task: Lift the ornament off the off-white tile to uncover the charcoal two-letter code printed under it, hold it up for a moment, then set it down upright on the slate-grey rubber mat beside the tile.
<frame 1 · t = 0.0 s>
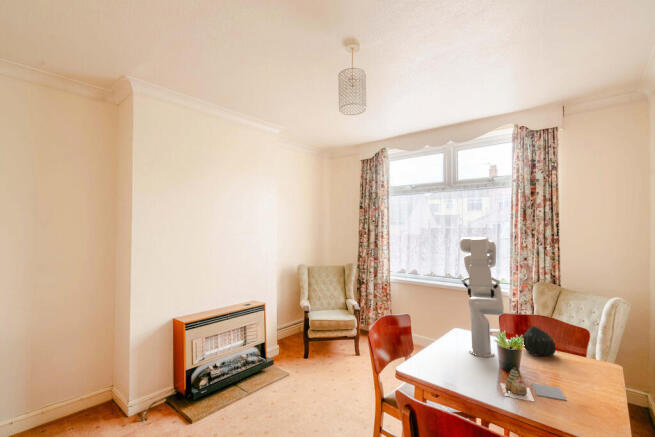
hand: (480, 297, 148), 37 cm above the table, tool pointing down, fingers open, 9 cm apart
ornament: (516, 392, 129), resting on code tile
squash: (538, 353, 166), on the table
grey mat: (548, 392, 128), on the table
code tile: (516, 392, 129), on the table
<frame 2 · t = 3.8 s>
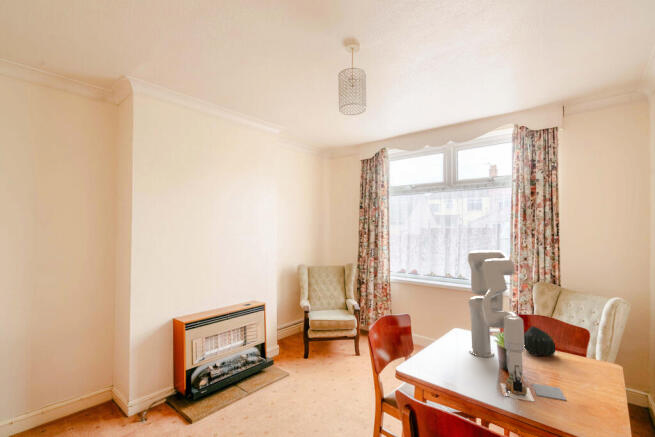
hand: (516, 385, 129), 3 cm above the table, tool pointing down, fingers closed on ornament, 8 cm apart
ornament: (516, 392, 129), resting on code tile, touching gripper
everything else where it was.
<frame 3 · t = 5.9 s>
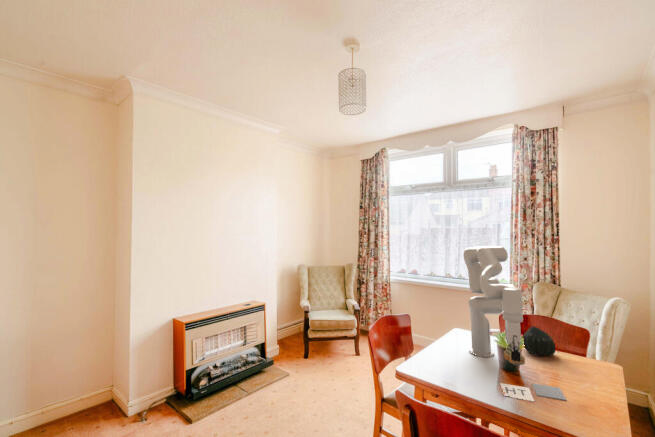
hand: (514, 356, 130), 15 cm above the table, tool pointing down, fingers closed on ornament, 8 cm apart
ornament: (514, 362, 129), point 13 cm above the table, touching gripper
everything else where it was.
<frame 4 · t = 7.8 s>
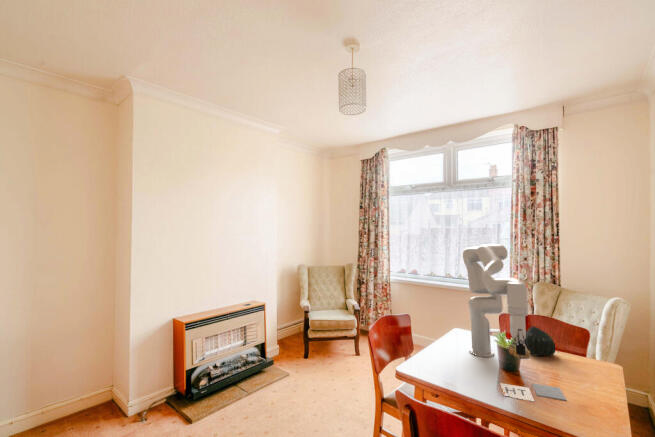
hand: (519, 350, 129), 18 cm above the table, tool pointing down, fingers closed on ornament, 8 cm apart
ornament: (519, 356, 129), point 15 cm above the table, touching gripper
everything else where it was.
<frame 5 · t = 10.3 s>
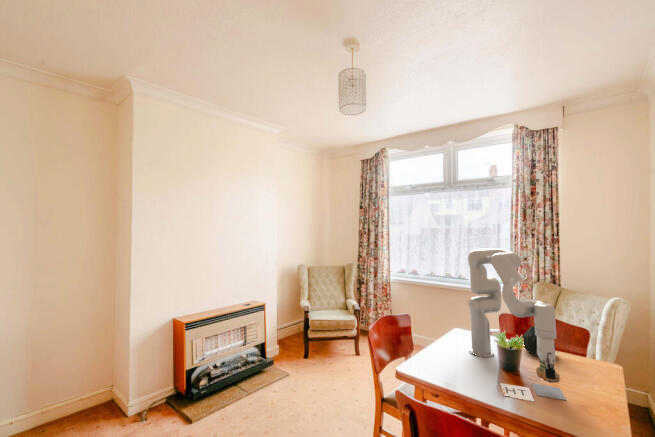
hand: (547, 373, 128), 8 cm above the table, tool pointing down, fingers closed on ornament, 8 cm apart
ornament: (548, 379, 128), point 5 cm above the table, touching gripper
everything else where it was.
when the fingers open (4 cm above the table, at t = 12.2 s): ornament drops 1 cm, resting on grey mat.
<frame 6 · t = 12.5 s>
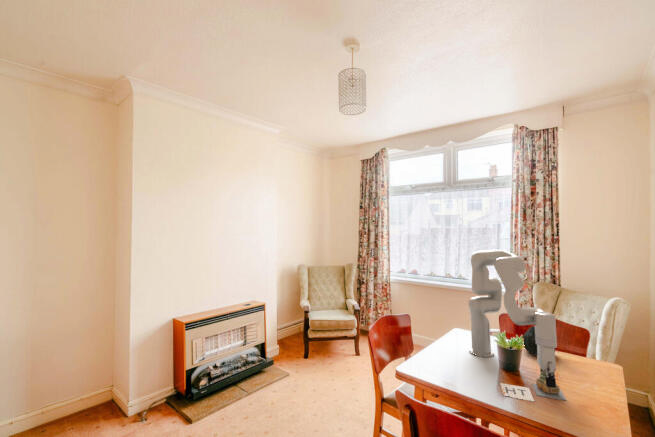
hand: (547, 381, 128), 5 cm above the table, tool pointing down, fingers open, 9 cm apart
ornament: (548, 391, 128), resting on grey mat
everything else where it was.
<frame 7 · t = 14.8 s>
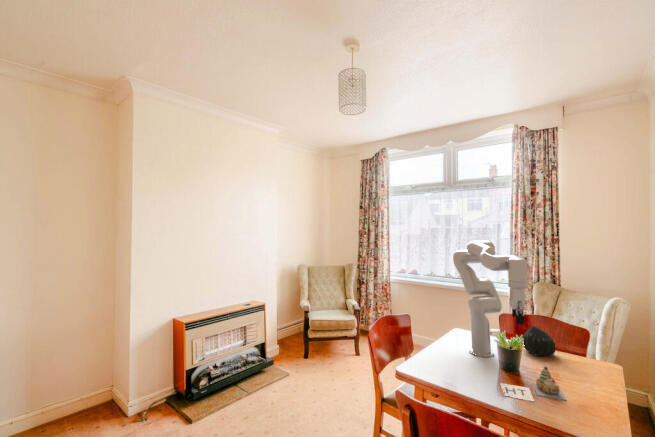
hand: (518, 320, 140), 27 cm above the table, tool pointing down, fingers open, 9 cm apart
nothing on the table moved.
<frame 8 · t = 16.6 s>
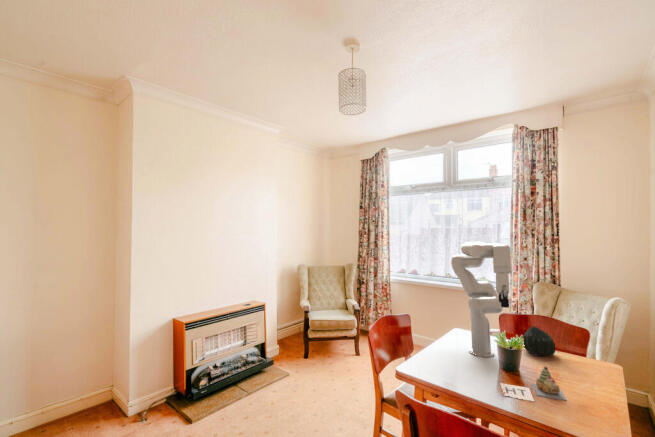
hand: (503, 304, 146), 33 cm above the table, tool pointing down, fingers open, 9 cm apart
nothing on the table moved.
at the end: ornament inside the target area on the grey mat (0.2 cm from its centre), point 0.2 cm above the grey mat's base; ornament tilted 0°; the gripper is holding nothing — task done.
